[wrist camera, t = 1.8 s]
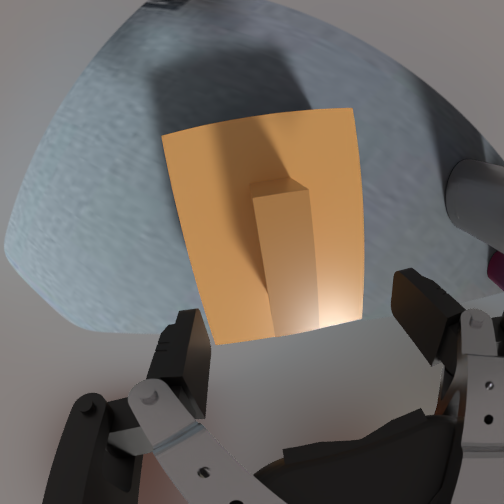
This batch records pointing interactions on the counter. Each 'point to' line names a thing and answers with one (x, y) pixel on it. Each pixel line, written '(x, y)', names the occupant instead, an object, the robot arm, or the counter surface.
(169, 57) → the counter surface
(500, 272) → the cup
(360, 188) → the lid
